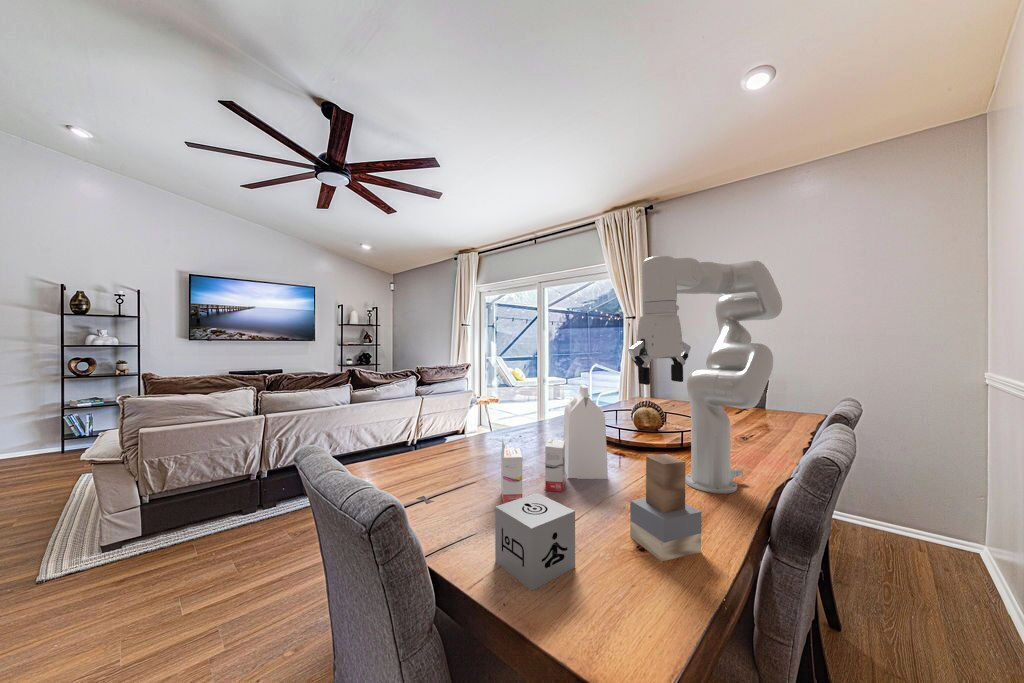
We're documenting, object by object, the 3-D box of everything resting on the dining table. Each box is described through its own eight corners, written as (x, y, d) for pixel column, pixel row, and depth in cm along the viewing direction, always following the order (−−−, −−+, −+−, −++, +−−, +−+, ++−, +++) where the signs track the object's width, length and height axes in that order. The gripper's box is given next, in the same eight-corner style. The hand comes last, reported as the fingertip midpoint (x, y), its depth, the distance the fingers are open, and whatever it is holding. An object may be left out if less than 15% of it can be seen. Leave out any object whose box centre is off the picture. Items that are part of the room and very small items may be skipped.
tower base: (666, 532, 78) (666, 512, 78) (701, 555, 70) (700, 533, 70) (630, 539, 76) (630, 519, 76) (661, 564, 67) (661, 541, 67)
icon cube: (495, 562, 67) (495, 506, 67) (537, 543, 73) (537, 492, 73) (531, 591, 59) (531, 528, 59) (575, 568, 66) (575, 510, 66)
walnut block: (666, 498, 76) (666, 454, 76) (685, 509, 71) (685, 461, 71) (645, 501, 74) (646, 456, 74) (663, 512, 70) (663, 464, 70)
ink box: (563, 493, 98) (563, 447, 98) (544, 491, 99) (544, 446, 99) (565, 480, 106) (565, 439, 107) (548, 479, 107) (548, 438, 107)
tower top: (665, 512, 79) (665, 493, 79) (701, 533, 70) (701, 511, 70) (630, 520, 75) (630, 500, 75) (664, 542, 67) (664, 520, 67)
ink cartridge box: (523, 506, 90) (523, 444, 90) (502, 506, 90) (502, 445, 90) (519, 491, 99) (519, 435, 99) (500, 492, 98) (500, 436, 98)
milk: (608, 479, 108) (607, 388, 108) (567, 479, 108) (567, 388, 108) (598, 465, 120) (598, 384, 120) (562, 465, 120) (562, 384, 120)
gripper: (676, 311, 95) (677, 378, 95) (619, 311, 89) (620, 383, 89) (700, 308, 88) (702, 381, 88) (640, 309, 82) (641, 387, 82)
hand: (661, 382), depth 89 cm, fingers open, 9 cm apart
